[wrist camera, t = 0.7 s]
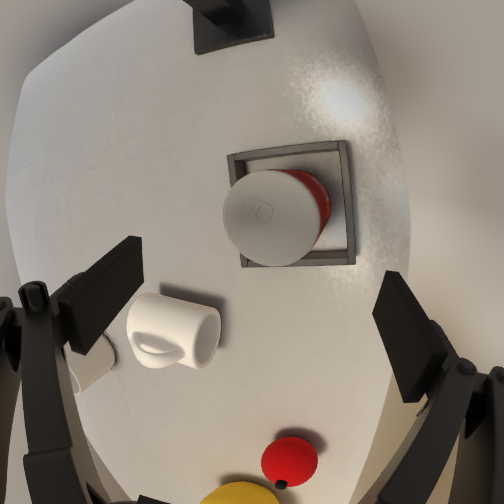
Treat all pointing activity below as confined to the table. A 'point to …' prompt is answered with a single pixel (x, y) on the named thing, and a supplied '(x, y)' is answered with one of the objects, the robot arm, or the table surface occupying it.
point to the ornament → (289, 462)
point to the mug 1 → (89, 364)
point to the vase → (241, 494)
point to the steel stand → (229, 23)
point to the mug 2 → (172, 331)
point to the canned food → (276, 215)
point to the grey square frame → (349, 255)
